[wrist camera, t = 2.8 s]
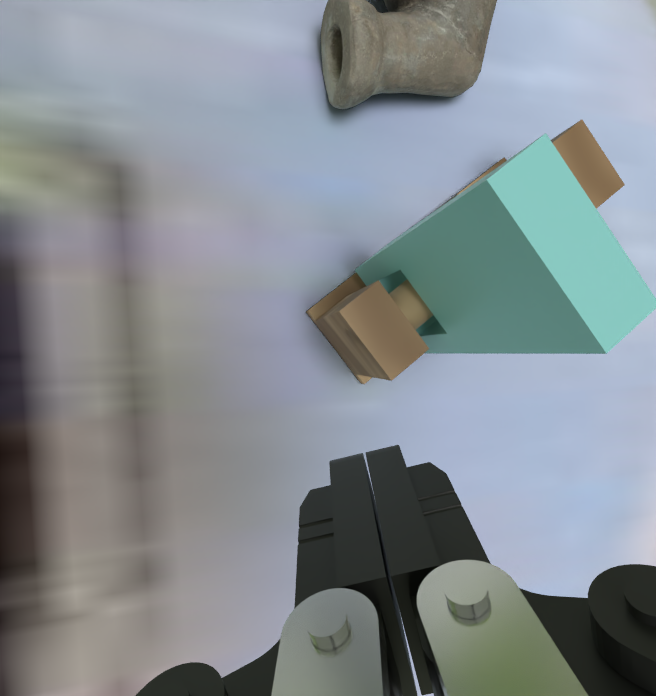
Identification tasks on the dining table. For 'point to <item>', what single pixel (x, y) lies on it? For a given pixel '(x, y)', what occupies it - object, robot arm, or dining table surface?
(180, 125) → the dining table surface
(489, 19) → the pipe
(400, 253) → the teal flat board
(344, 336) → the wooden dowel plank
